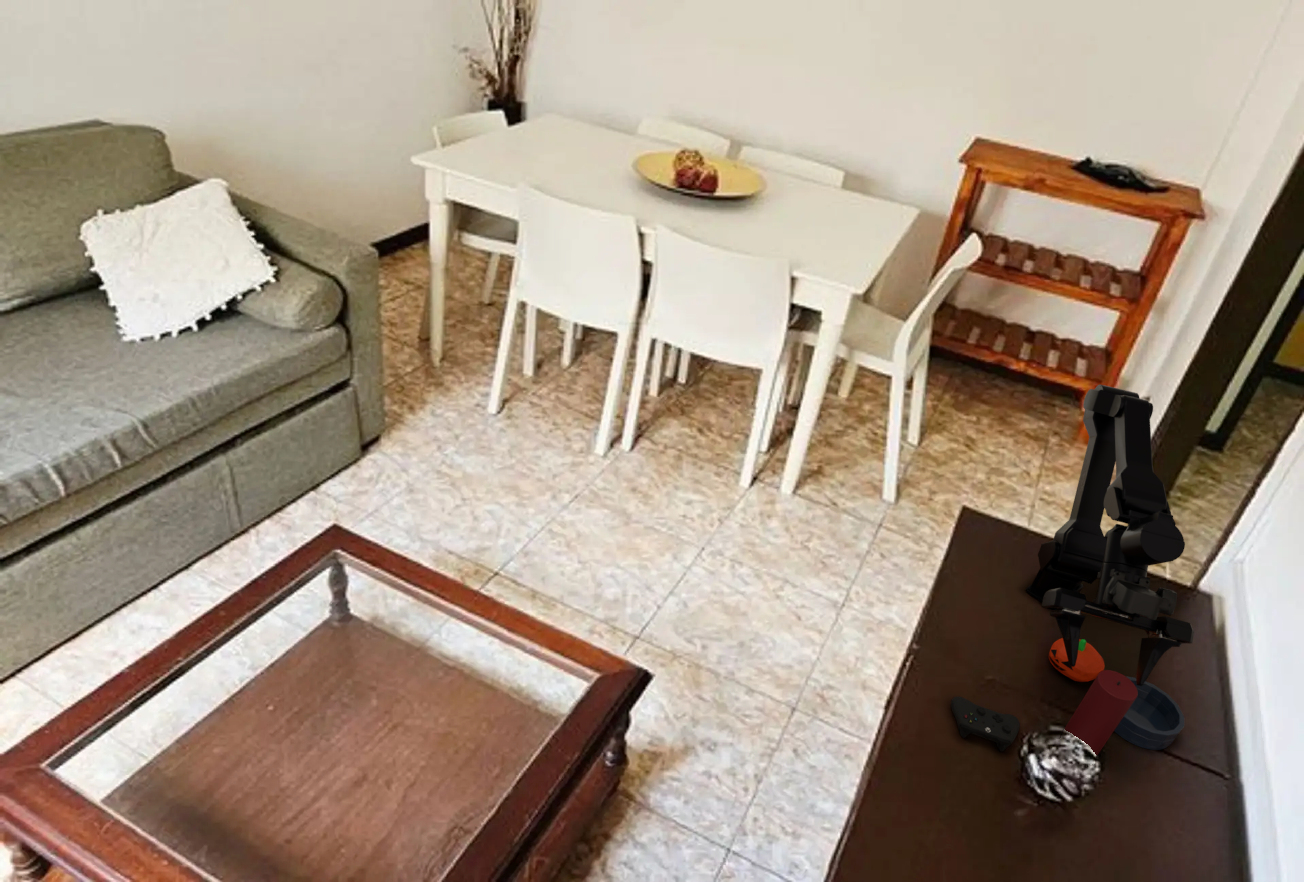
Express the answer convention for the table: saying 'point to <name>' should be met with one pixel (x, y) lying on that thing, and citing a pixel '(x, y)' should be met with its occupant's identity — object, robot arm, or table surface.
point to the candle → (1102, 709)
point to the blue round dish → (1151, 718)
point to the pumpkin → (1077, 661)
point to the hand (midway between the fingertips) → (1105, 675)
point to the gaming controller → (984, 722)
